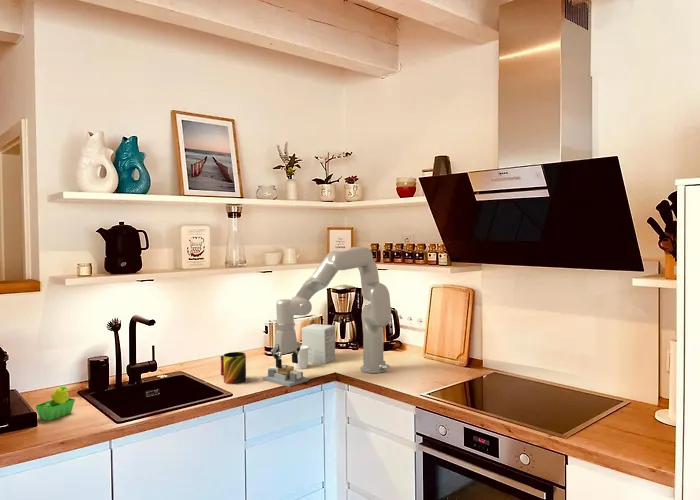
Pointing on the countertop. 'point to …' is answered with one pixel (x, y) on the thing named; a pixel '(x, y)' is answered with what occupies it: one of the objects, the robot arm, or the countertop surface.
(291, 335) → the robot arm
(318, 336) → the supplement box
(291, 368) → the coupler
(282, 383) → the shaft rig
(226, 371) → the mug
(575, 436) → the countertop surface
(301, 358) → the white cup
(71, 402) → the fruit basket
